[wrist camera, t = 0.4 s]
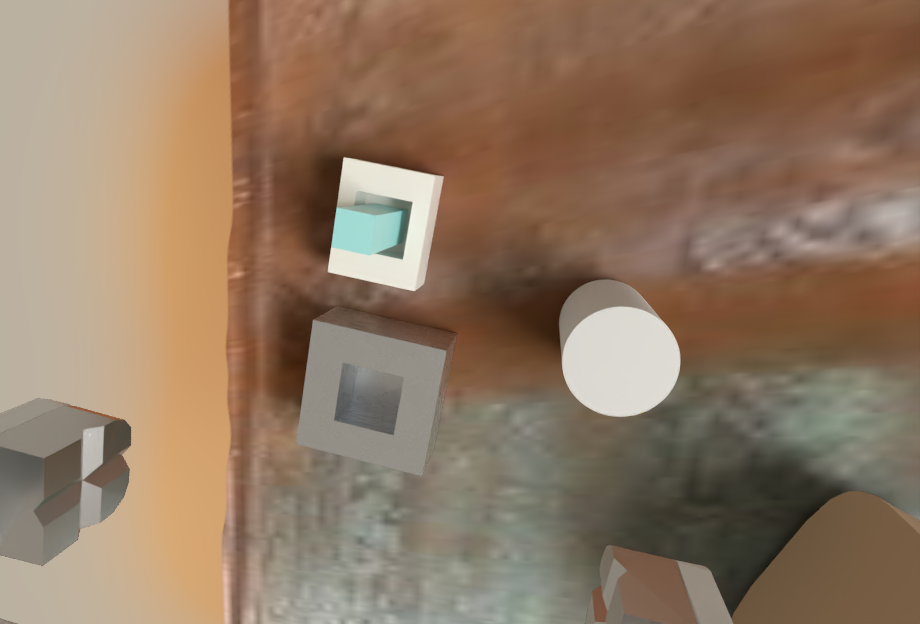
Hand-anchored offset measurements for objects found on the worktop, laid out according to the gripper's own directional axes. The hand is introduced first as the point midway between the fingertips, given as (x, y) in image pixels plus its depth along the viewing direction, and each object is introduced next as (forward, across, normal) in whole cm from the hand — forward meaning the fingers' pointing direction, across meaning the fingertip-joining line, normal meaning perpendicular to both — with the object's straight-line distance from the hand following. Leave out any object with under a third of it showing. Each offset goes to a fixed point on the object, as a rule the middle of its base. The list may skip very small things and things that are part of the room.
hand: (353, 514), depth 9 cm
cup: (+44, -10, +5) cm, 46 cm away
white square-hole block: (+44, +11, 0) cm, 46 cm away
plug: (+43, +11, 0) cm, 45 cm away
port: (+44, +9, +15) cm, 48 cm away
